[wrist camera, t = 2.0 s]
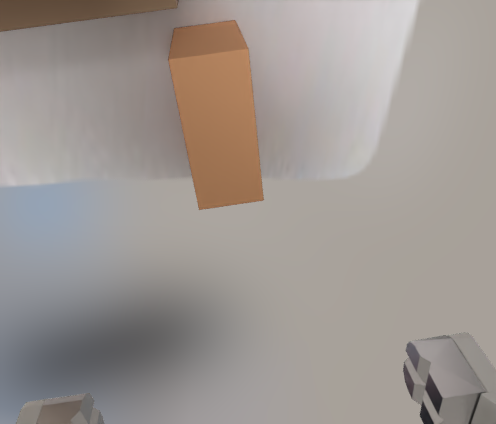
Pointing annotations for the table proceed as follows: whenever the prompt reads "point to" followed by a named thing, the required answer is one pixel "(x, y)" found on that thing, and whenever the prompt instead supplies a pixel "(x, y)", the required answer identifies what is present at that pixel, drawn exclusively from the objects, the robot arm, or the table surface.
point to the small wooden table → (71, 11)
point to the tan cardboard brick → (217, 112)
